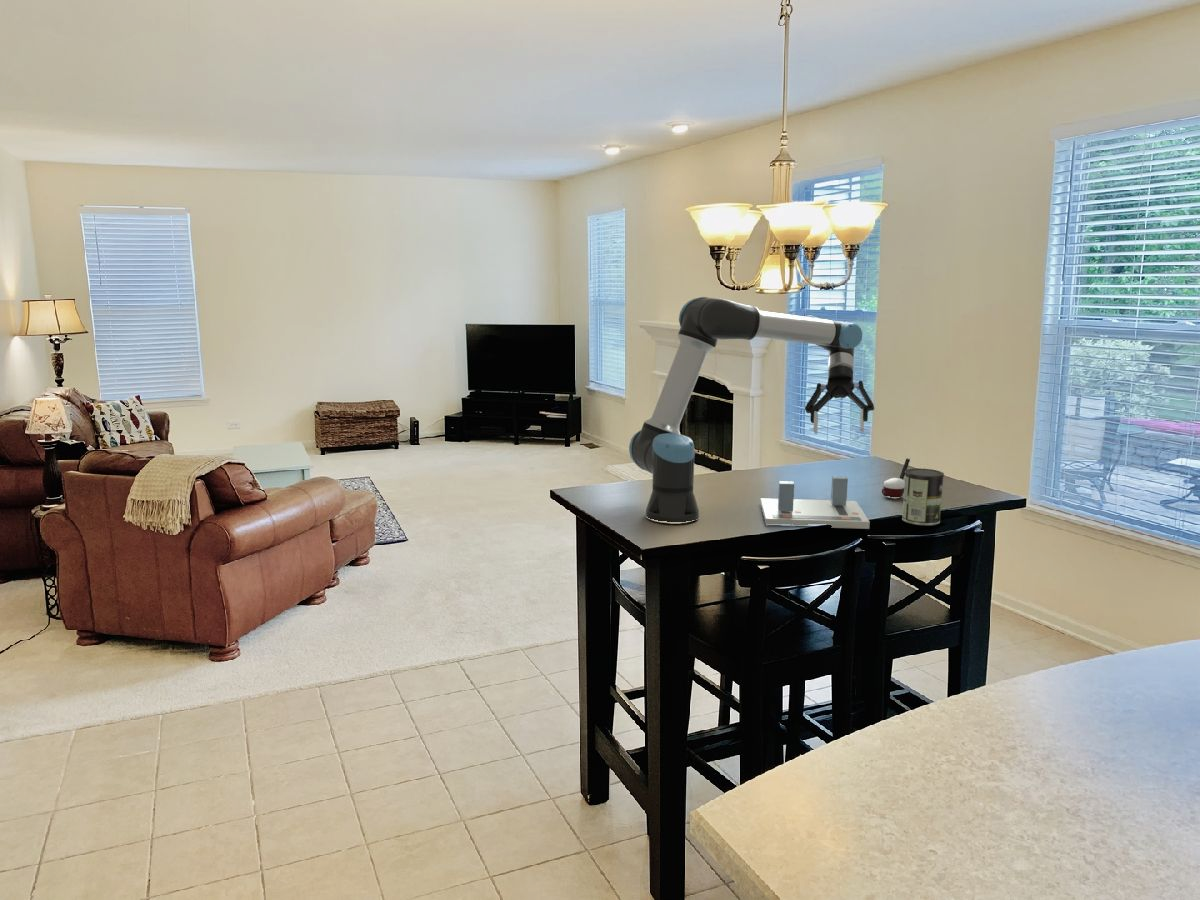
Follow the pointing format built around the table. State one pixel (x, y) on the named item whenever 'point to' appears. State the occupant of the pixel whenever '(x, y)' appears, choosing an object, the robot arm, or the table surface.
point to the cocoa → (895, 484)
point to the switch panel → (815, 513)
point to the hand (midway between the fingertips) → (838, 431)
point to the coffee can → (922, 496)
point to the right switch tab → (839, 490)
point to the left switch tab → (785, 496)
